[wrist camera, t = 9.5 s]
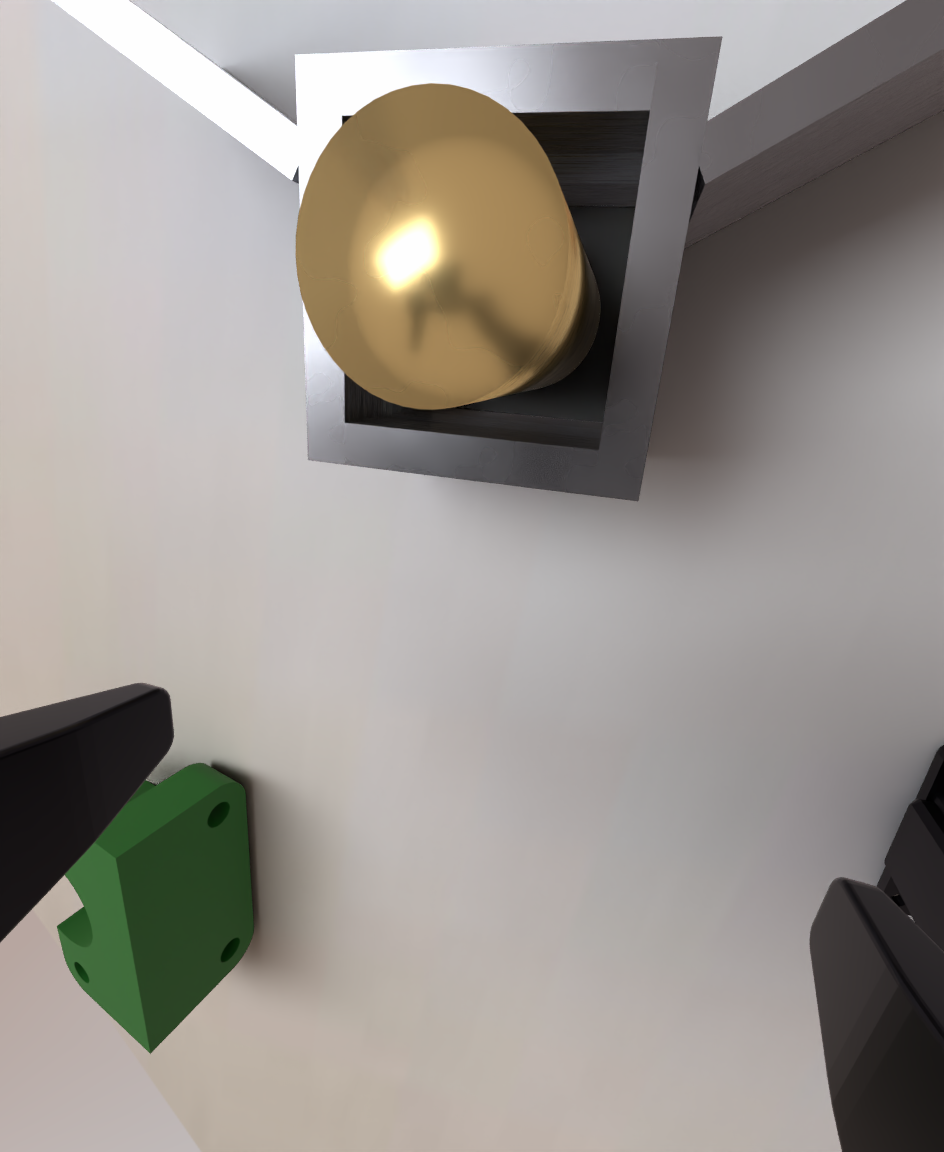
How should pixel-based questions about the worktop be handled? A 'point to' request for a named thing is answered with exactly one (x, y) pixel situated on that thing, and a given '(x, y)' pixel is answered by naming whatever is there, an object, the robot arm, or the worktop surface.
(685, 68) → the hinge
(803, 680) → the worktop surface
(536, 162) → the pin
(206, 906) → the clamp
